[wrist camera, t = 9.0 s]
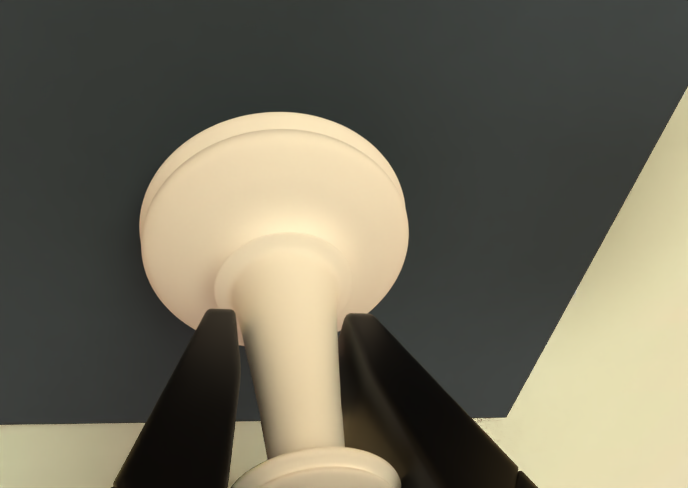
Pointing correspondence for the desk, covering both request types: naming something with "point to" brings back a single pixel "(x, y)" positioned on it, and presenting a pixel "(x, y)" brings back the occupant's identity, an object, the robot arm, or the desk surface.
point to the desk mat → (345, 109)
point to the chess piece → (281, 271)
